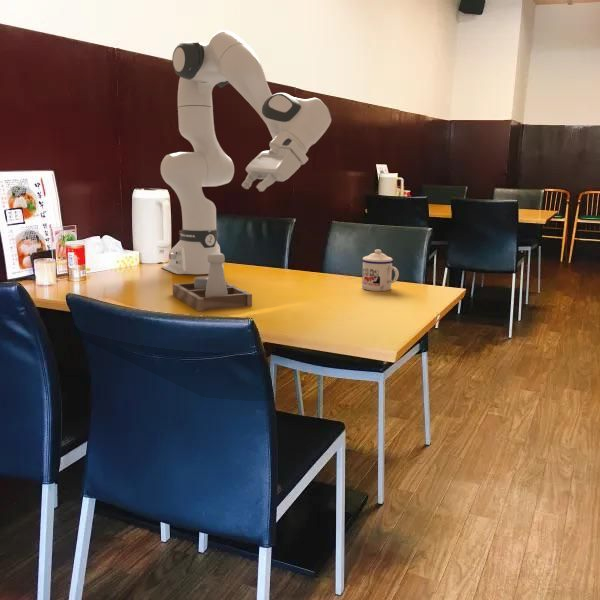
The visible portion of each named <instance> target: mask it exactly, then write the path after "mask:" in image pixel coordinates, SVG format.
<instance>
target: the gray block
mask: <svg viewBox="0 0 600 600" xmlns="http://www.w3.org/2000/svg"><path fill="white" fill-rule="evenodd" d="M207 279H208V275H207V276H205V275H204V276H197V277H194V278H193V283H194V290H198V289H206V285H207Z"/></svg>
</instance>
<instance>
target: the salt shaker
mask: <svg viewBox="0 0 600 600" xmlns="http://www.w3.org/2000/svg"><path fill="white" fill-rule="evenodd" d="M207 259H208V262H209V263H210V267H209V273H208V274H207V276H208V279H207V285H206V292H205V296H206V297H210V296H221V295H228V292H227V287H226V277H225V270H224V268H223V265H224V264H223V263H225V261H226V260H225V259H226V258H225V254H224V253H222V252H220V253H211V254H209V255H208V258H207Z"/></svg>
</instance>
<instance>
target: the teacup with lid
mask: <svg viewBox="0 0 600 600" xmlns="http://www.w3.org/2000/svg"><path fill="white" fill-rule="evenodd" d="M361 261H362V276H361V277H362V278H361V279H362V280H361V288H362V289H363V290H365V291H369V292H371V291H372V292H387V291H389V290H391V289H392V284H393V283H396V282H397V280H398V278H399V275H400V274H399V270H398V268H397V267H396V266H393V262H394V259H393V258H392V257H390V256H388V255H387V254H385V253H383V252H382V250H381V249H374V252H372V253H369V255H365V256H363V257H362V260H361ZM392 271H393V272H394V277H393V279H392Z"/></svg>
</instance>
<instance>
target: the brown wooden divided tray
mask: <svg viewBox="0 0 600 600" xmlns="http://www.w3.org/2000/svg"><path fill="white" fill-rule="evenodd" d="M225 282H226V281H225ZM226 287H227V292H228V295H221V296H210V297H206V296H205V292H206V289H198V290H194V282H186V283H185V282H184V283H173V284H172V296H174V297H176V298H177V299H179V300H180V301H182V302H184V303H185V304H186V305H188V306H189V307H191V308H193V309H194V310H196V311H198V312H207V311H216V310H217V311H218V310H219V311H220V310H226V309H235V308H236V309H237V308H245V307H252V306H253V294H252V293H250V292H248V291H246V290H244V289H242V288H240V287H238V286H236V285H234V284H231V283H229V282H226Z"/></svg>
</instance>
